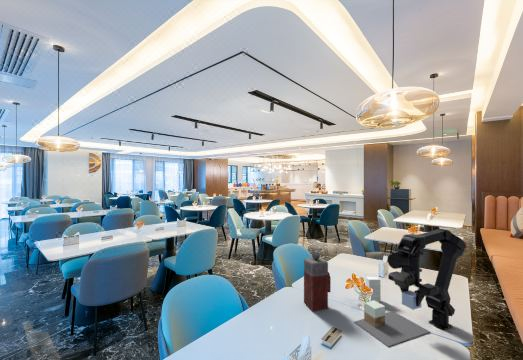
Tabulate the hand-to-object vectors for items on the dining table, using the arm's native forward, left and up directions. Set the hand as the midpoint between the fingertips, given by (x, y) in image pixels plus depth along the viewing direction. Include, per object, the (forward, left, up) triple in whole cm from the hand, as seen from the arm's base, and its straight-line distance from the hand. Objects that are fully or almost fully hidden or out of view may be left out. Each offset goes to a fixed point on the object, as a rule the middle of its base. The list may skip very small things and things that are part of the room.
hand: (411, 303), depth 106 cm
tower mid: (+9, -11, -8) cm, 16 cm away
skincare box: (-7, -27, -13) cm, 31 cm away
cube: (0, 0, -1) cm, 1 cm away
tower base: (+9, -11, -12) cm, 18 cm away
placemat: (+5, -6, -12) cm, 15 cm away
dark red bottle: (+23, -34, -13) cm, 43 cm away
